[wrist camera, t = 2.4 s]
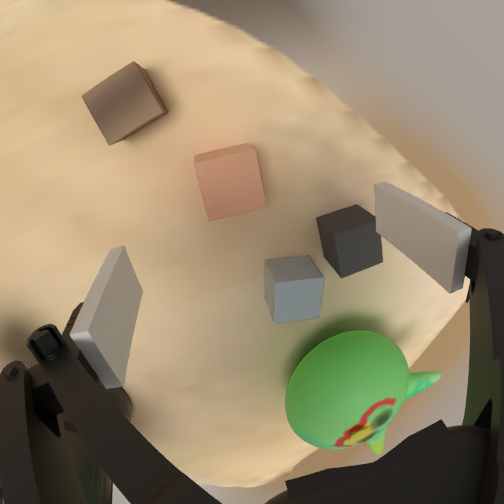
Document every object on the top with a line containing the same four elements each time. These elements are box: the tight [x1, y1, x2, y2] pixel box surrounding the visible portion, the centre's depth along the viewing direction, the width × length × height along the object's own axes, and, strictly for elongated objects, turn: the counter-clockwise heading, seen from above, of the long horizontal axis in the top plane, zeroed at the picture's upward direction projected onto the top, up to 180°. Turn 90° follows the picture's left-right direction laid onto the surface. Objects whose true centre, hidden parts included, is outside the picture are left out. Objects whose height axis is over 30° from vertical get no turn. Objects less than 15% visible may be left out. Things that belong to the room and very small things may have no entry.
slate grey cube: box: [265, 255, 324, 324], centre depth 34 cm, size 5×5×5 cm
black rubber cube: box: [316, 204, 383, 278], centre depth 32 cm, size 5×5×5 cm
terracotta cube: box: [194, 143, 267, 221], centre depth 28 cm, size 5×5×5 cm
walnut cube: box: [82, 62, 168, 146], centre depth 23 cm, size 5×5×5 cm
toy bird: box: [285, 330, 441, 455], centre depth 37 cm, size 18×17×15 cm
